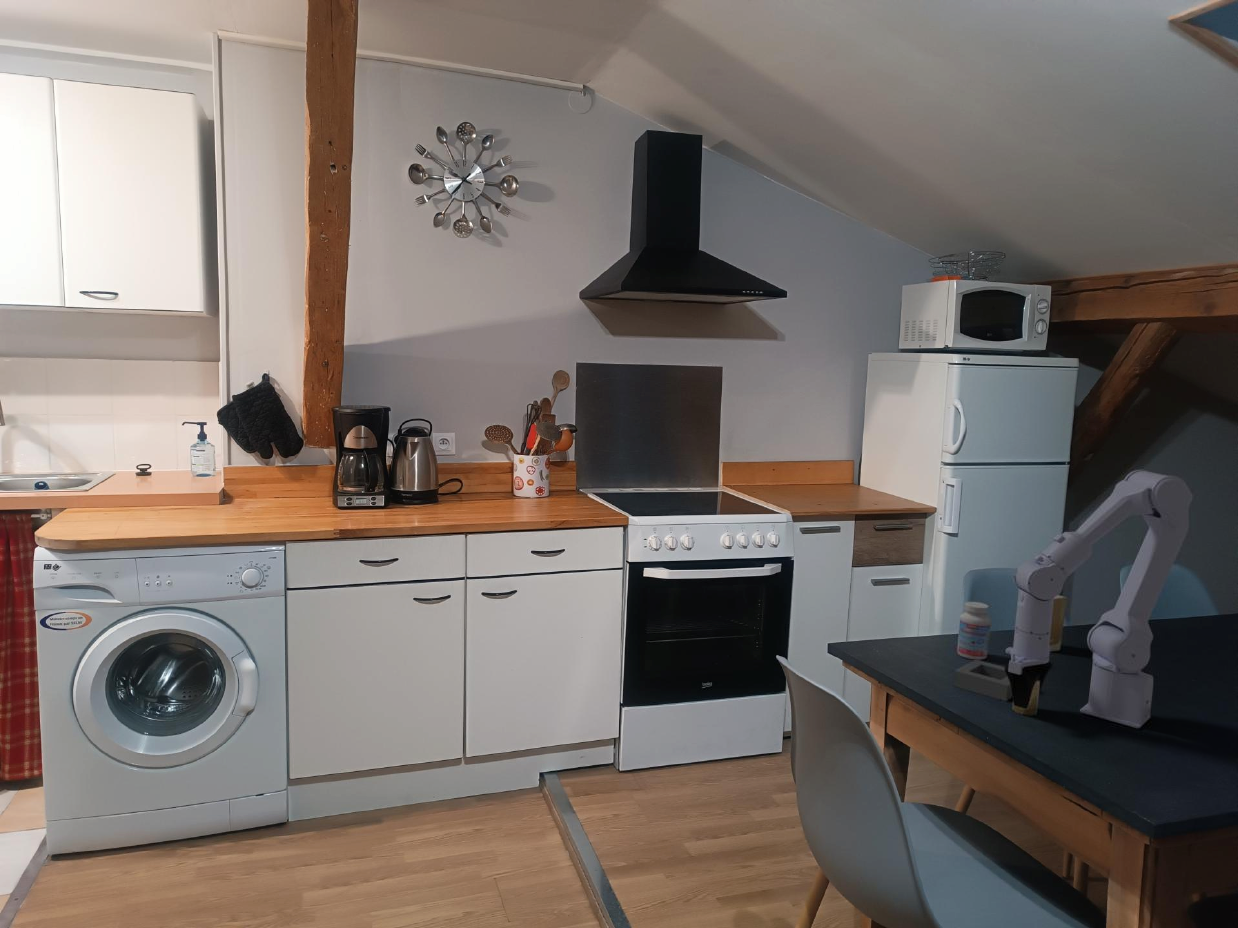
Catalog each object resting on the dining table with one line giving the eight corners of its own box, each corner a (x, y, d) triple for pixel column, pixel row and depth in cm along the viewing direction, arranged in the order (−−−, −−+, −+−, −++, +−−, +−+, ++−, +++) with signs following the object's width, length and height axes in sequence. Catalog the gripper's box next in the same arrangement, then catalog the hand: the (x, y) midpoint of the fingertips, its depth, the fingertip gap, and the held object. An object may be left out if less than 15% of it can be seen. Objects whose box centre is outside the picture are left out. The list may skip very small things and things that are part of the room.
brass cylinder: (1040, 711, 156) (1043, 679, 156) (1031, 717, 153) (1035, 684, 153) (1017, 704, 159) (1020, 673, 158) (1008, 710, 156) (1012, 678, 155)
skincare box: (1023, 643, 196) (1028, 590, 194) (1037, 641, 198) (1042, 589, 196) (1048, 652, 190) (1053, 598, 188) (1062, 650, 192) (1067, 596, 190)
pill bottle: (955, 656, 184) (959, 605, 183) (958, 649, 190) (963, 598, 188) (985, 662, 182) (990, 610, 180) (988, 654, 187) (993, 603, 186)
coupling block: (1025, 688, 167) (1027, 673, 167) (1006, 701, 160) (1007, 685, 160) (974, 673, 174) (975, 659, 174) (953, 685, 167) (954, 670, 167)
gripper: (1024, 617, 162) (1017, 687, 164) (993, 632, 152) (986, 706, 154) (1064, 626, 157) (1057, 698, 159) (1036, 642, 147) (1028, 719, 149)
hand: (1025, 703), depth 156 cm, fingers closed on brass cylinder, 4 cm apart
